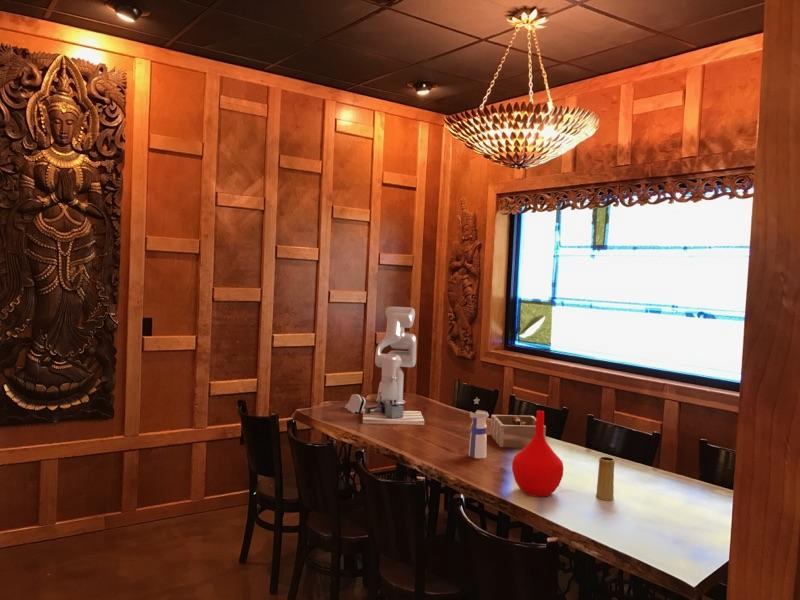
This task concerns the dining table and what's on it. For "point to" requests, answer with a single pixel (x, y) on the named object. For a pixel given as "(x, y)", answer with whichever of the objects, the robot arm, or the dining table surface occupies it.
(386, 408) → the link
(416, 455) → the dining table surface
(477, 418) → the water bottle
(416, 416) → the board
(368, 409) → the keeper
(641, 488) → the dining table surface
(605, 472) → the vase
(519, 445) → the box
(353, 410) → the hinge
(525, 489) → the vase
